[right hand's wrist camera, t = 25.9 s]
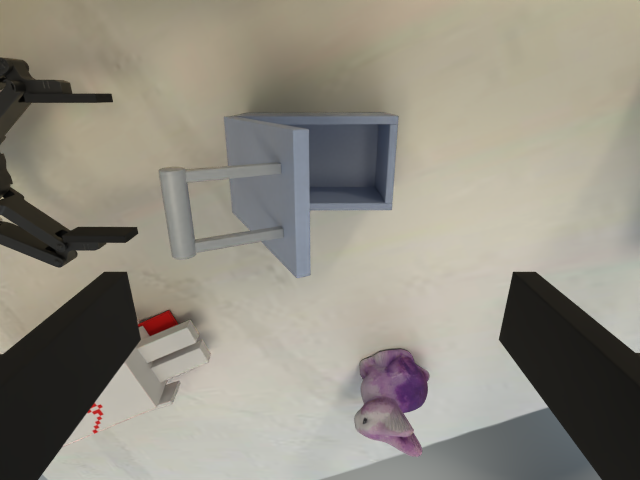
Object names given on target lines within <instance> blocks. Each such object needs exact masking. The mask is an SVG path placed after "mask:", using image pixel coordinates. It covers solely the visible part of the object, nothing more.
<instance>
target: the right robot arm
mask: <svg viewBox="0 0 640 480" xmlns="http://www.w3.org/2000/svg"><path fill="white" fill-rule="evenodd" d="M140 340H141V337H140V332H139V327H138V322H137V318H136V313H135V308H134V303H133V299H132V294H131V289H130V284H129V280H128V275H127V272H104V273H102V274H101V275H100V276H99V277H97V278H96V279H95V280H94V281H93V282H91V283H90V284H89V285H88V286H86V287H85V288H84V289H83V290H81V291H80V292H79V293H78V294H77V295H75V296H74V297H73V298H72V299H70V300H69V301H68V302H67V303H65V304H64V305H63V306H62V307H61V308H59V309H58V310H57V311H56V312H54V313H53V314H52V315H51V316H49V317H48V318H47V319H46V320H45V321H43V322H42V323H41V324H40V325H38V326H37V327H36V328H35V329H34V330H32V331H31V332H30V333H29V334H27V335H26V336H25V337H24V338H22V339H21V340H20V341H19V342H18V343H16V344H15V345H14V346H13V347H11V348H10V349H9V350H8V351H6V352H5V353H4V354H0V480H38V479H39V478H40V476H41V475H42V474H43V472H44V471H45V469H46V468H47V467H48V465H49V464H50V463H51V461H52V460H53V459H54V457H55V456H56V455H57V453H58V452H59V450H60V449H61V448H62V446H63V445H64V444H65V442H66V441H67V440H68V438H69V437H70V436H71V434H72V433H73V431H74V430H75V429H76V427H77V426H78V425H79V423H80V422H81V421H82V419H83V418H84V417H85V415H86V414H87V412H88V411H89V410H90V408H91V407H92V406H93V404H94V403H95V402H96V400H97V399H98V397H99V396H100V395H101V393H102V392H103V391H104V389H105V388H106V387H107V385H108V384H109V383H110V381H111V380H112V378H113V377H114V376H115V374H116V373H117V372H118V370H119V369H120V368H121V366H122V365H123V364H124V362H125V361H126V359H127V358H128V357H129V355H130V354H131V353H132V351H133V350H134V349H135V347H136V346H137V345H138V343H139V342H140ZM499 340H500V342H501V343H502V345H503V346H504V347H505V349H506V350H507V351H508V353H509V354H510V355H511V357H512V358H513V359H514V361H515V362H516V364H517V365H518V366H519V368H520V369H521V370H522V372H523V373H524V374H525V376H526V377H527V378H528V380H529V381H530V383H531V384H532V385H533V387H534V388H535V389H536V391H537V392H538V393H539V395H540V396H541V397H542V399H543V400H544V402H545V403H546V404H547V406H548V407H549V408H550V410H551V411H552V412H553V414H554V415H555V417H556V418H557V419H558V421H559V422H560V423H561V425H562V426H563V427H564V429H565V430H566V431H567V433H568V434H569V436H570V437H571V438H572V440H573V441H574V442H575V444H576V445H577V446H578V448H579V449H580V450H581V452H582V453H583V455H584V456H585V457H586V459H587V460H588V461H589V463H590V464H591V465H592V467H593V468H594V469H595V471H596V472H597V474H598V475H599V476H600V478H601V479H602V480H640V353H635V352H634V351H632V350H631V349H630V348H629V347H627V346H626V345H625V344H624V343H622V342H621V341H620V340H619V339H618V338H616V337H615V336H614V335H613V334H611V333H610V332H609V331H608V330H606V329H605V328H604V327H603V326H602V325H600V324H599V323H598V322H597V321H595V320H594V319H593V318H592V317H591V316H589V315H588V314H587V313H586V312H584V311H583V310H582V309H581V308H579V307H578V306H577V305H576V304H575V303H573V302H572V301H571V300H570V299H568V298H567V297H566V296H565V295H563V294H562V293H561V292H560V291H559V290H557V289H556V288H555V287H554V286H552V285H551V284H550V283H549V282H547V281H546V280H545V279H544V278H543V277H541V276H540V275H539V274H538V273H536V272H513V275H512V280H511V284H510V289H509V294H508V299H507V303H506V308H505V313H504V318H503V322H502V327H501V332H500V337H499Z"/></svg>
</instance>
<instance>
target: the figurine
mask: <svg viewBox="0 0 640 480" xmlns="http://www.w3.org/2000/svg"><path fill="white" fill-rule="evenodd" d="M360 375H361V377H362V379H363V382H362V384H361V395H362V399H363V402H364V405H363V407H362V408H361V409H360V410H359V411H358V412H357V413H356V415H355V418H354V422H355V428H356V430H357V431H358V432H359V433H361V434H362V435H364V436H366V437H368V438H370V439H373V440H378V441H383V442H386V443H388V444H390V445H392V446H394V447H396V448H397V449H398V450H400V451H402V452H404V453H406V454H408V455H410V456H416V457H418V456H420V455H421V454H422V448H421V445H420V443H419V441H418V440H417V438H416V436H415V435H414V433H413V431H414V430H413V428H412V427H411V425H410V423H409V422H408V420H407V418H406V417H405V415H404V414H403V413H406V412H410V411H413V410H416V409H418V408H419V407H421V406H422V405H423V403H424V402H425V400H426V397H427V392H428V385H427V381H428V380H429V377H430V375H429V373H428V371H427V370H425V369H423V368H421V367H419V366H418V365H416V364H415V362H414V359H413V357H412V355H411V353H410V352H408V351H406V350H403V349H396V350H386V351H381V352H378V353H377V354H375V355H373V356H372V357H370V358H366V359H364V360H362V361H361V362H360Z"/></svg>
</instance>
